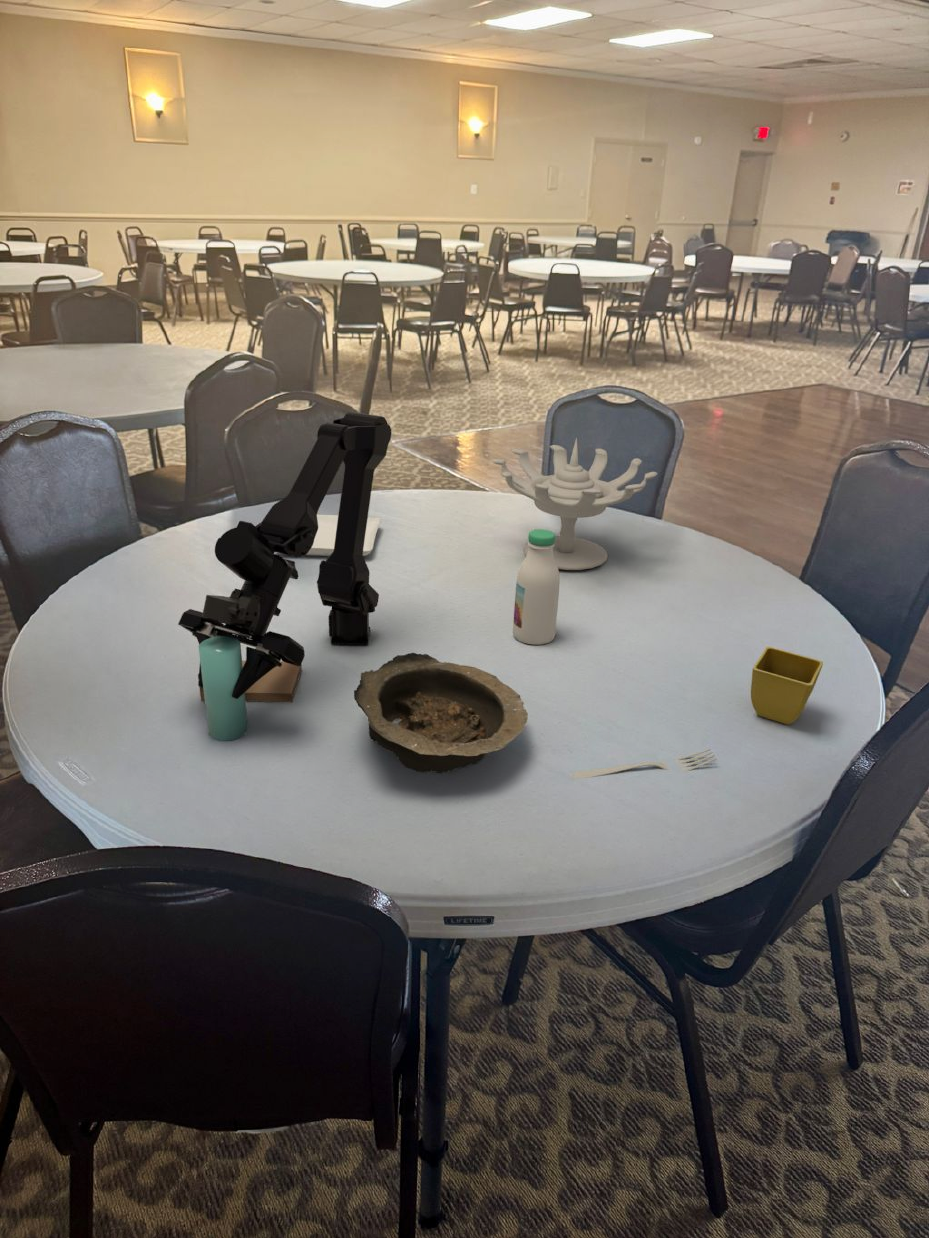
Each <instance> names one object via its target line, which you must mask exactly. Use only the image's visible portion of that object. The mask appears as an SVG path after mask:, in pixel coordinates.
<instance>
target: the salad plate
mask: <svg viewBox="0 0 929 1238" xmlns="http://www.w3.org/2000/svg"><path fill="white" fill-rule="evenodd" d="M317 521H318V531H317V533H316V536H315V539H314V543H313V546H312V547H311V549H310V550H309V552H308V553H307V554H306V555H305V556H315V557H316V556H317V557H319V556H320V557H329V556H330V555H331V554H332V553H333V551H334V544H335V537H336V529H337V522H338V514H335V515H334V514H317ZM381 523H382V520H381V518H380V517H370V516H368V519H367V526H366V533H365V540H364V548H363V557H365V556H367V555H370V554H371V552H372V551H373V549H374V545H375V540H376V535H377V532H378V530H379V527H380V525H381Z"/></svg>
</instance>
